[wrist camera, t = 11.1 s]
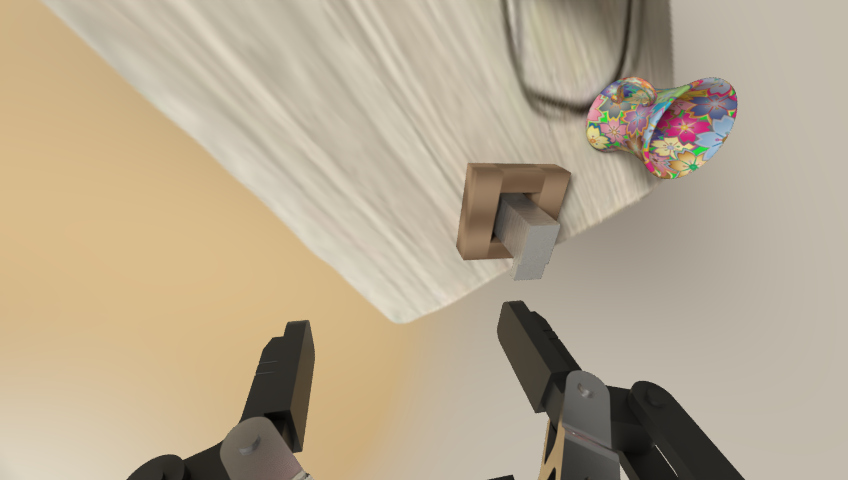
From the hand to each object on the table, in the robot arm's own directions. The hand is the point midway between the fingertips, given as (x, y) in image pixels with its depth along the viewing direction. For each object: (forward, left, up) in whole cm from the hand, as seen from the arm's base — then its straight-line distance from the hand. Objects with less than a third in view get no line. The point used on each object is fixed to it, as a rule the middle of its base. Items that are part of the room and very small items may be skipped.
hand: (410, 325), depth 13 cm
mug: (-6, +28, -27) cm, 40 cm away
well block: (+7, +17, -27) cm, 33 cm away
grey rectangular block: (+8, +17, -27) cm, 33 cm away
